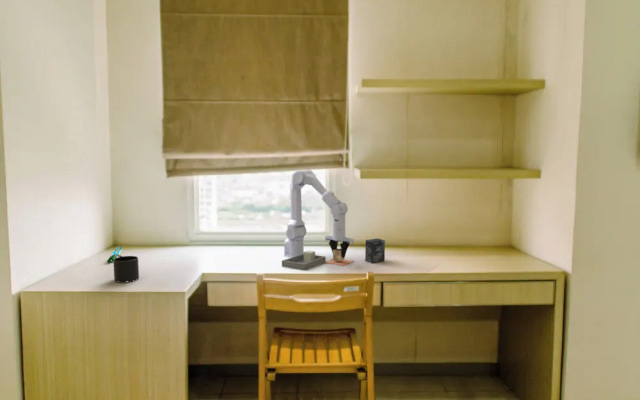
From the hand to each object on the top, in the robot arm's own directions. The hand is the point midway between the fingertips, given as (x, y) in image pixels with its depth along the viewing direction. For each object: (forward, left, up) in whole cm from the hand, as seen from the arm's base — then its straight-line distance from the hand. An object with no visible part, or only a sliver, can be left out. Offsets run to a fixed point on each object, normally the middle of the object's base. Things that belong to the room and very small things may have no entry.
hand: (339, 256), depth 217 cm
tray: (-12, -12, -3) cm, 17 cm away
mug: (-61, -71, -3) cm, 94 cm away
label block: (0, 0, -2) cm, 2 cm away
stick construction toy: (-94, -54, -3) cm, 108 cm away
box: (+13, +12, -3) cm, 18 cm away
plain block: (-12, -8, -3) cm, 14 cm away
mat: (0, 0, -3) cm, 3 cm away
